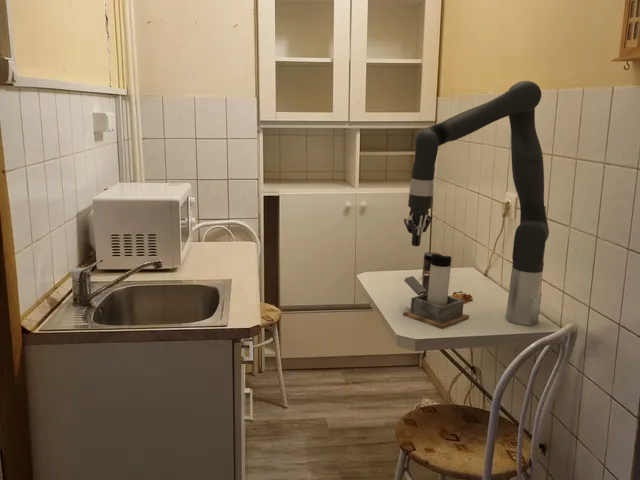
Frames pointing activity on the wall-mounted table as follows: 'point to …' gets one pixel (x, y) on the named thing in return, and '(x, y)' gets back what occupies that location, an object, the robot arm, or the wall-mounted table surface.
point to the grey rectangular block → (415, 285)
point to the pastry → (462, 296)
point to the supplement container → (427, 261)
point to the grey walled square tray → (436, 311)
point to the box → (426, 280)
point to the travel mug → (439, 279)
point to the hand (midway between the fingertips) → (415, 245)
